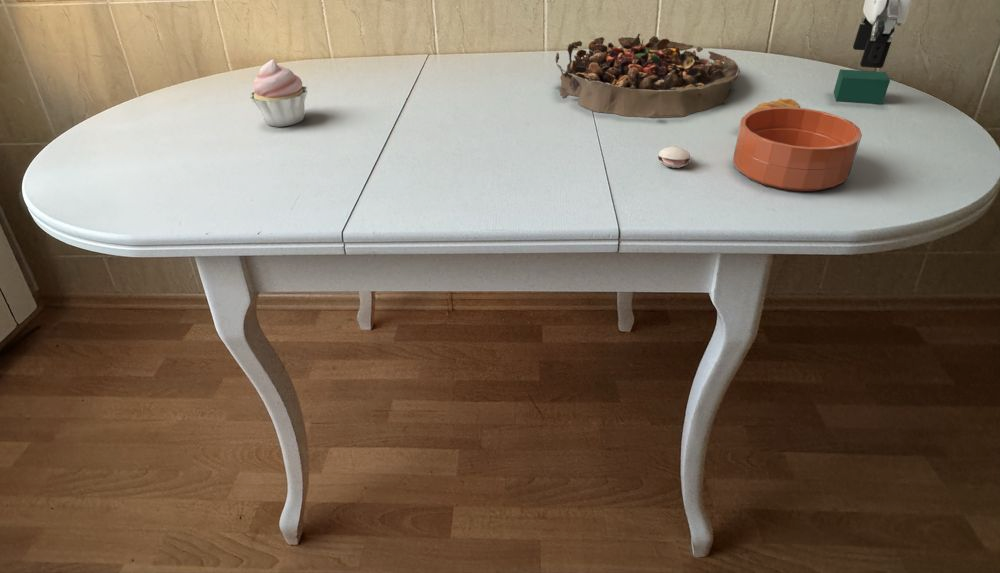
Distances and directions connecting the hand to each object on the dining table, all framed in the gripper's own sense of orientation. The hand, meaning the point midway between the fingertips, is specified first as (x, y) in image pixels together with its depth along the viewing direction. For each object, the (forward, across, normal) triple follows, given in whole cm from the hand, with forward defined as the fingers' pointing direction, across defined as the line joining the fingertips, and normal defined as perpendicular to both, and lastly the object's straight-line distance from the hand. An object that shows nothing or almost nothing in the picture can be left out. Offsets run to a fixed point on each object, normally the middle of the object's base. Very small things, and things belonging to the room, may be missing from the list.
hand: (866, 58), depth 102 cm
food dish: (+7, 0, +36) cm, 36 cm away
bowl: (+6, -32, +12) cm, 35 cm away
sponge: (+7, 0, 0) cm, 7 cm away
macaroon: (+7, -34, +26) cm, 44 cm away
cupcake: (+8, -33, +90) cm, 97 cm away
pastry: (+7, -17, +14) cm, 23 cm away
